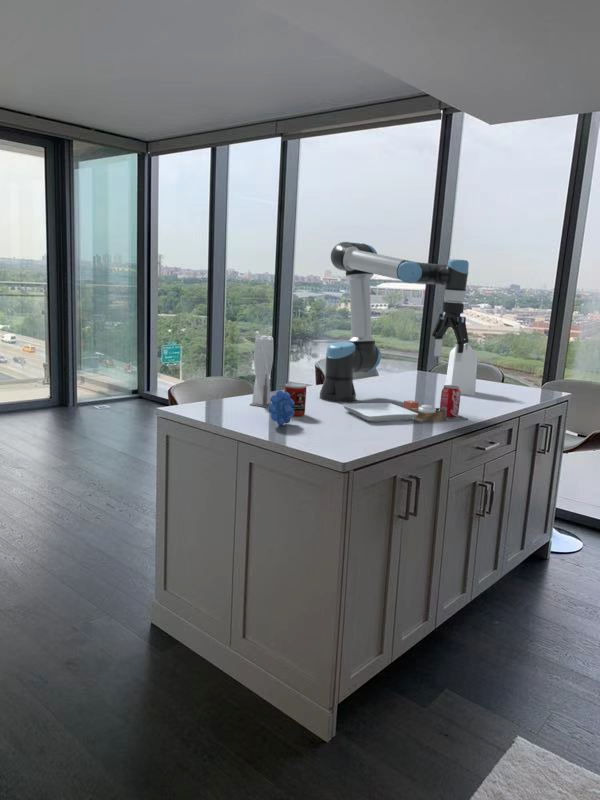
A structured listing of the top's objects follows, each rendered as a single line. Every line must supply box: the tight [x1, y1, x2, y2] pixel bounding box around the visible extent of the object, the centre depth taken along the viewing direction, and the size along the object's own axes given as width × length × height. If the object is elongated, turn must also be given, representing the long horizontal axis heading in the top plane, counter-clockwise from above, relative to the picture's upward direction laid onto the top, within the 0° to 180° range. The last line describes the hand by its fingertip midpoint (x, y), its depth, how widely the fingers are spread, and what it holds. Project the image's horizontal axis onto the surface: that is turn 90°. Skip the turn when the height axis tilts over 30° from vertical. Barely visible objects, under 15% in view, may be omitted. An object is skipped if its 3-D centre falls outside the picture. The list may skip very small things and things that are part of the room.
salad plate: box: [342, 402, 418, 423], centre depth 228 cm, size 21×21×3 cm
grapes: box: [268, 390, 295, 426], centre depth 204 cm, size 12×7×12 cm, turn 137°
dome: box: [418, 404, 437, 413], centre depth 229 cm, size 6×6×3 cm
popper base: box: [410, 407, 444, 422], centre depth 229 cm, size 9×9×3 cm
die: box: [402, 400, 420, 410], centre depth 239 cm, size 4×4×4 cm
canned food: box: [284, 382, 307, 418], centre depth 222 cm, size 8×8×11 cm
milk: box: [444, 337, 478, 396], centre depth 289 cm, size 12×12×26 cm
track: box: [435, 407, 469, 422], centre depth 237 cm, size 10×19×1 cm, turn 21°
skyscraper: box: [249, 330, 275, 408], centre depth 235 cm, size 8×8×28 cm
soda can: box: [439, 384, 461, 419], centre depth 232 cm, size 7×7×12 cm
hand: (447, 358), depth 233 cm, fingers open, 13 cm apart
